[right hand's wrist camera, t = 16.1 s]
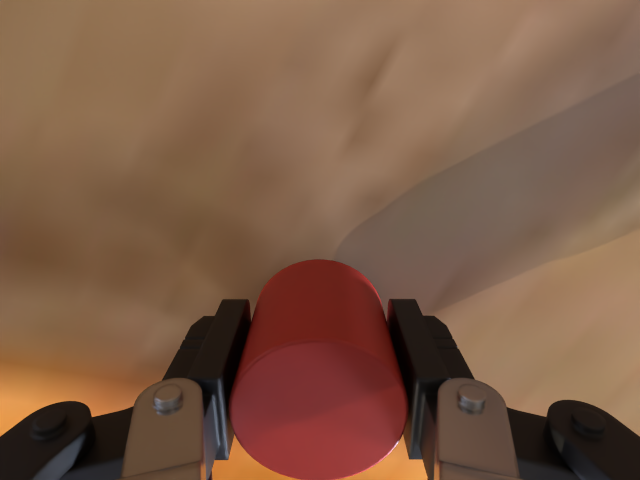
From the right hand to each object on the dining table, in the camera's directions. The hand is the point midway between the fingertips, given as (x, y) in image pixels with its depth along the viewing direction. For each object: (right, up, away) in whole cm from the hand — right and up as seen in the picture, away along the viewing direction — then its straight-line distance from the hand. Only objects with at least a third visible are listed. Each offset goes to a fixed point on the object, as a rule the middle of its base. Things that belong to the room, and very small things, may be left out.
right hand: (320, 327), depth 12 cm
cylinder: (0, 0, +1) cm, 1 cm away
